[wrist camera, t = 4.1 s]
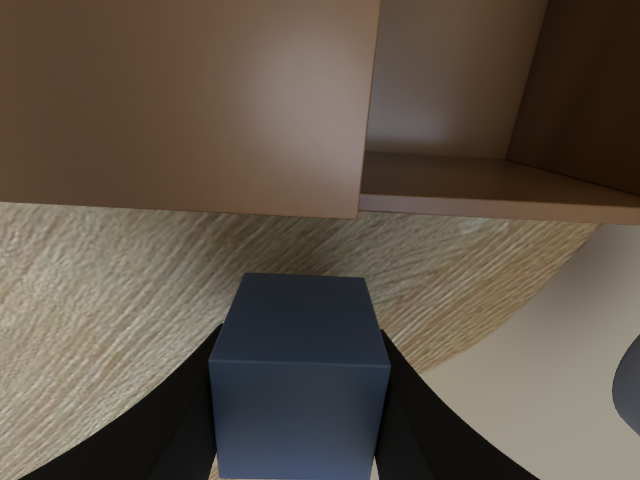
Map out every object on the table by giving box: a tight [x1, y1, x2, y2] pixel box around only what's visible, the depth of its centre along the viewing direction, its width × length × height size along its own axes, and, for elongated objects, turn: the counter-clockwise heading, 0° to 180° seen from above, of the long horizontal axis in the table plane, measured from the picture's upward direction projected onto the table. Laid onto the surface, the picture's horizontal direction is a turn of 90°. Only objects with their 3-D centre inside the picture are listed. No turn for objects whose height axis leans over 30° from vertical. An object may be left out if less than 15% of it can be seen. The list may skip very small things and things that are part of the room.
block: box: [208, 273, 391, 480], centre depth 11 cm, size 4×4×4 cm
